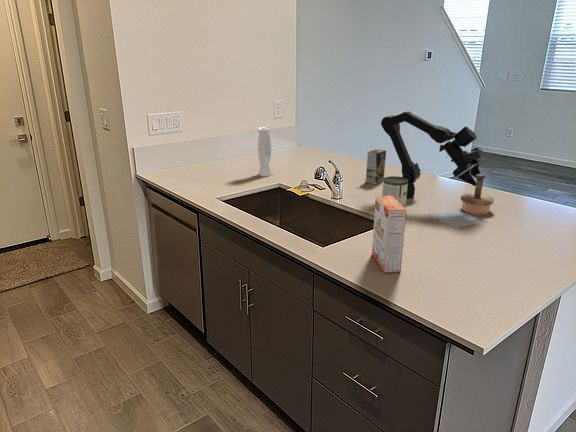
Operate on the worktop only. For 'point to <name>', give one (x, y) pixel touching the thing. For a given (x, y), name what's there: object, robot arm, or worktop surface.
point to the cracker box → (388, 233)
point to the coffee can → (396, 188)
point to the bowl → (475, 208)
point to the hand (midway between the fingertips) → (478, 183)
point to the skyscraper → (264, 151)
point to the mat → (457, 218)
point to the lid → (477, 194)
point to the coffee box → (375, 166)
